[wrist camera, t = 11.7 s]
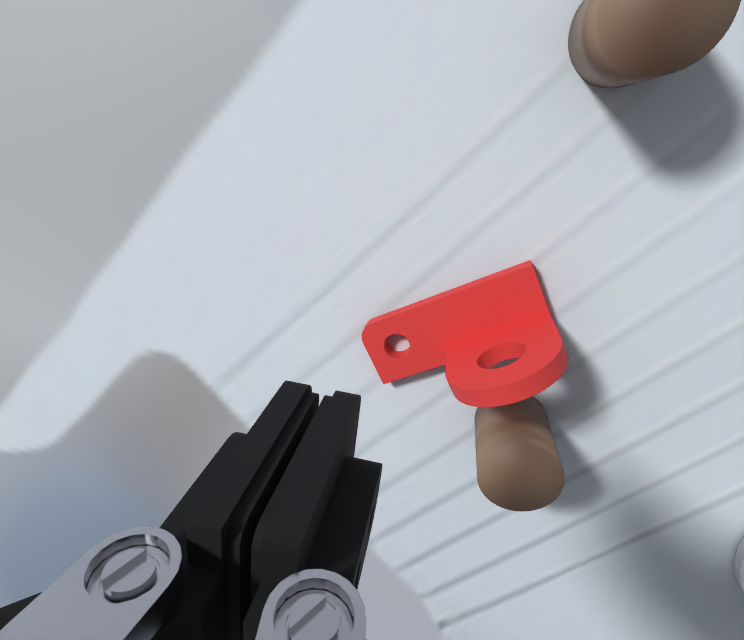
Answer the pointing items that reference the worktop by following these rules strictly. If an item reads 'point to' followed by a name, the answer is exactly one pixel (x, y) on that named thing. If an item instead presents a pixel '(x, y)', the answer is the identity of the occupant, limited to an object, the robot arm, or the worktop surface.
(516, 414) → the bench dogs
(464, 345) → the bracket
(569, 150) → the worktop surface
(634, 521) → the worktop surface
